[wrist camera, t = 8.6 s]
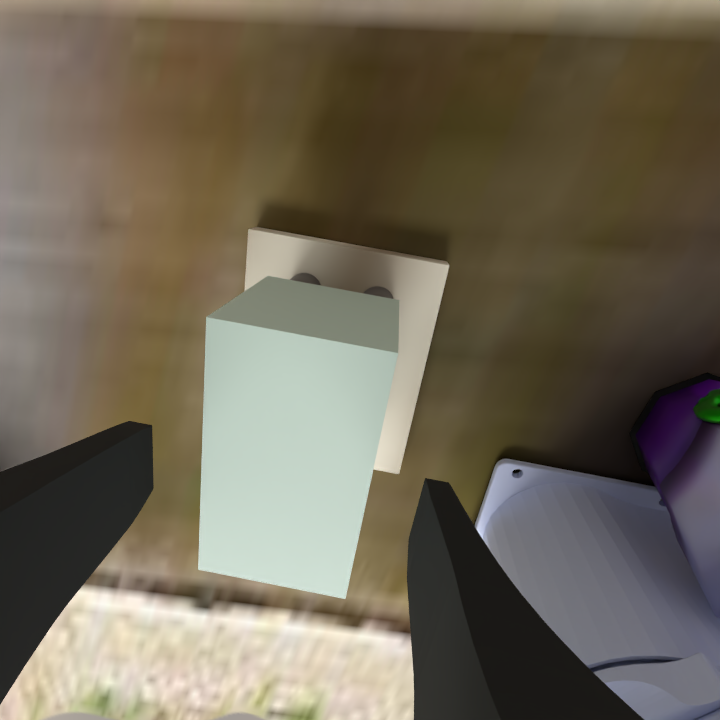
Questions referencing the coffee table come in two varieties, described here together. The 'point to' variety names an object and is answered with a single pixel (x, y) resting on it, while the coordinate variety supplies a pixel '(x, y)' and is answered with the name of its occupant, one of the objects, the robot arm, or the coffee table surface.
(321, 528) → the shelf block
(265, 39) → the coffee table surface
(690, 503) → the potion bottle
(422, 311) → the peg stand
